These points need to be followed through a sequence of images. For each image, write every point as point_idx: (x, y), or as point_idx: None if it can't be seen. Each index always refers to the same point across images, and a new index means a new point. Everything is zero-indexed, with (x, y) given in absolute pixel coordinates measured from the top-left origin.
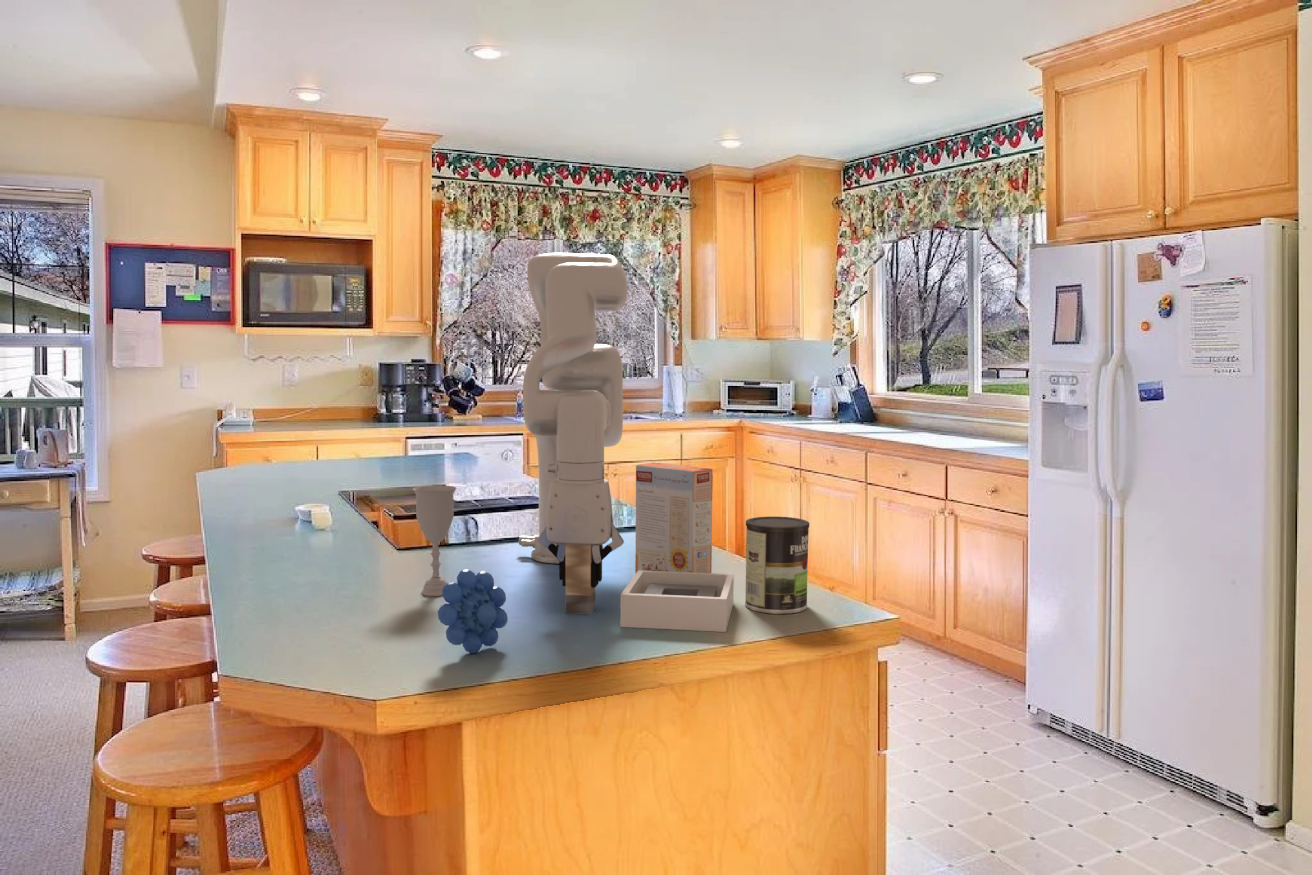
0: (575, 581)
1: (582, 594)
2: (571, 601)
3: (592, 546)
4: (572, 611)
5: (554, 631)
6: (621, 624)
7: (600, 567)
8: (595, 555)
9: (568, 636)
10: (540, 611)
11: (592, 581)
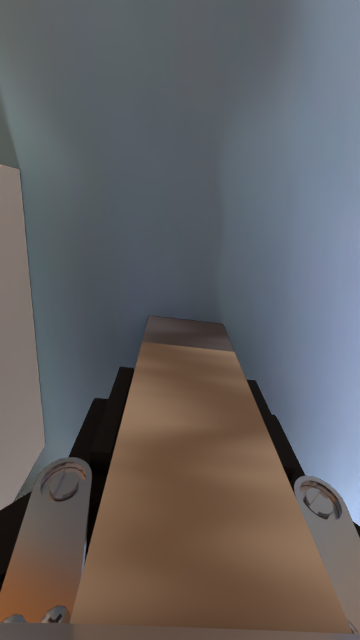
0: (202, 377)
1: (171, 347)
2: (209, 338)
3: (61, 613)
4: (203, 324)
5: (254, 93)
6: (11, 168)
7: (75, 453)
8: (66, 511)
9: (196, 7)
10: (295, 337)
11: (125, 379)
